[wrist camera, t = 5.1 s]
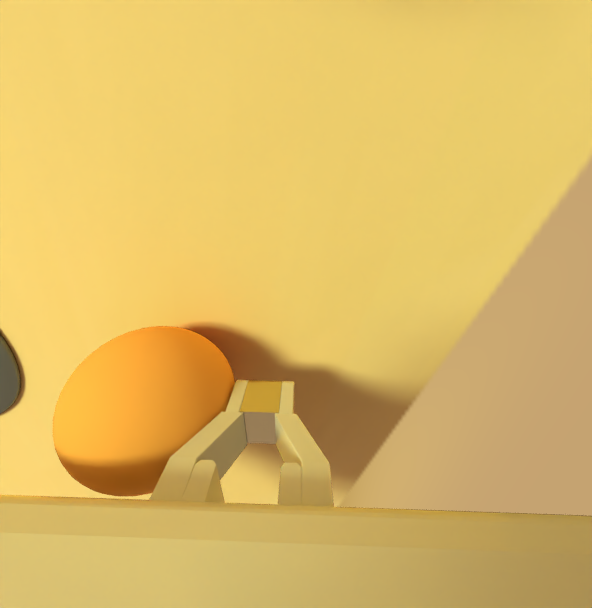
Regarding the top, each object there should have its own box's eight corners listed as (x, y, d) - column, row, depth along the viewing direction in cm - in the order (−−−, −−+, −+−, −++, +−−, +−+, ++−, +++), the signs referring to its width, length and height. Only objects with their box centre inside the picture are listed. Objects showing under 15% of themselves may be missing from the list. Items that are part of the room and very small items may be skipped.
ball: (134, 290, 11) (-57, 390, 6) (256, 314, 10) (158, 454, 5) (159, 380, 14) (46, 500, 9) (255, 405, 13) (192, 552, 8)
